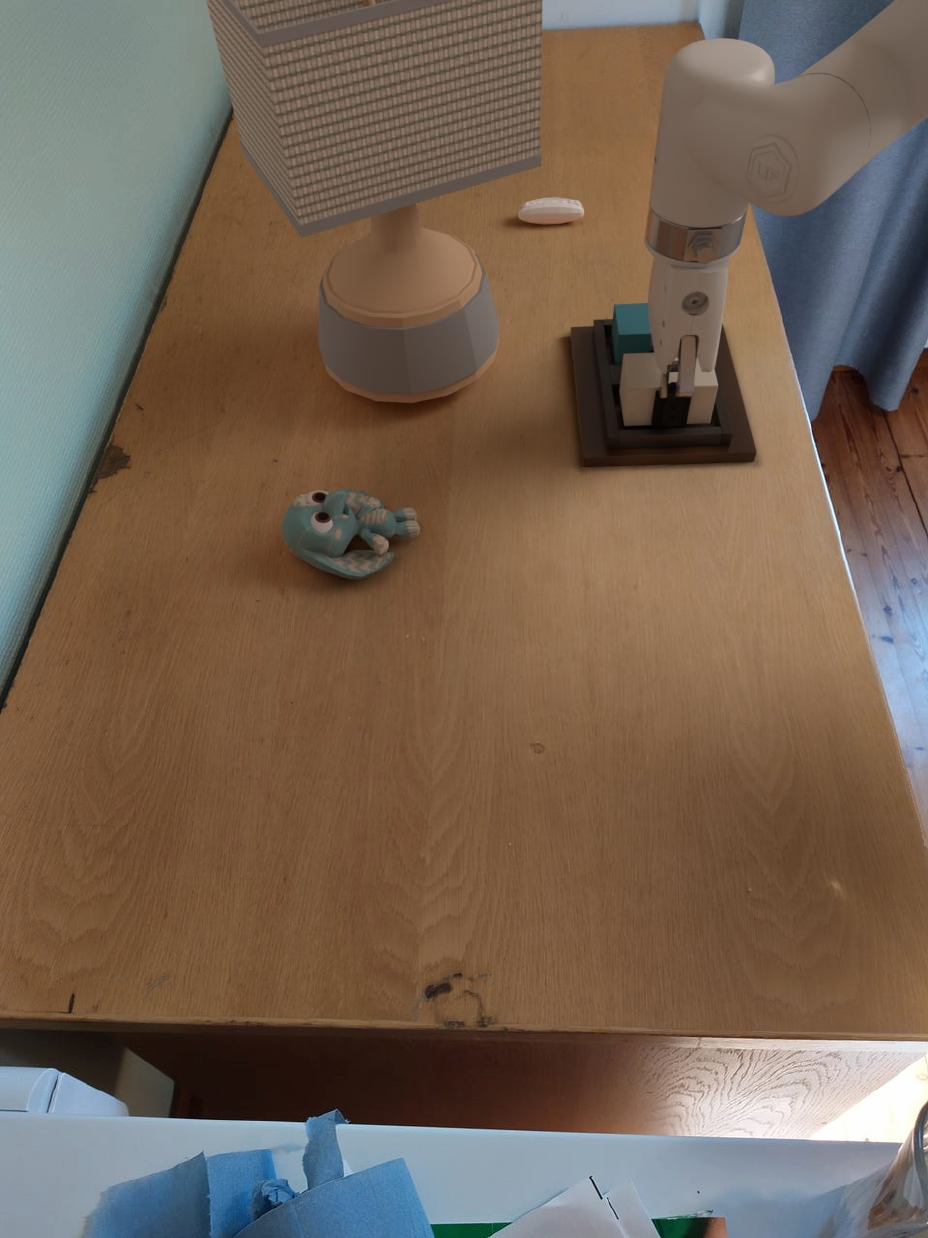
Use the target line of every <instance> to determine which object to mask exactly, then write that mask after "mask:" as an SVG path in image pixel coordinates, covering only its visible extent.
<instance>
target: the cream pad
mask: <svg viewBox="0 0 928 1238" xmlns="http://www.w3.org/2000/svg"><path fill="white" fill-rule="evenodd" d="M674 361H678V357H676V359H675V360H674ZM677 377H678V372H670V374H669V383H671V382H677ZM660 380H661V371H660V370H659V369H658V366H657V363H656V358H655V353H631V354H624V355H623V363H622V372H621V381H620V390H619V393H620V400H621V407H622V414H623V421H624V426H642V425H652V424H651V419H652V412H653V406H654V399H655V393H656V391H660ZM717 389H718V382H717V378H716V374H715V370H714V369H713V370H712V371H711V372H702V371H701V368H700V365H699V361H698V358H697V360H696V369H695V380H694V395H693V396H692V398H691V403H690V408H689V414H688V419H687V424H705V423H710V420H711V416H712V411H713V407H714V402H715V398H716V393H717Z"/></svg>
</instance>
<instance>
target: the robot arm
mask: <svg viewBox="0 0 928 1238" xmlns="http://www.w3.org/2000/svg"><path fill="white" fill-rule="evenodd" d="M775 81H776V70H775V64H774V62H773V59H772V58H771V56H770V55H769V53H767V51H765V50H764V49H763V48H762V47H760V46H758V45H757V44H754V43H753V42H749V41H746V40H743V39H736V38H728V37H727V38H726V37H725V38H724V37H715V38H706V39H701V40H698V41H697V40H696V41H694V42H691V43H689V44H687V45H685V46H683V47H682V48H681V49H679V50H678V51H677V52H676V53H675V54H674V55H673V56H672V57H671V59H670V61H669V63H668V65H667V67H666V69H665V73H664V78H663V83H662V92H661V99H660V108H659V116H658V124H657V131H656V132H657V133H656V139H655V140H656V142H655V149H654V158H653V165H652V173H651V174H652V175H651V184H650V192H649V198H648V199H649V200H648V206H647V207H648V208H647V217H646V224H645V230H644V231H645V232H644V246H645V248H646V250H647V251H648V253H649V254H650V255H652V256H653V258H652V263H651V271H650V278H649V285H648V297H647V303H648V319H649V325H650V331H651V349H654V350H649V352H648V353H655V358H656V363H657V366H658V369H659V370H660V371H661V380H660V391H656V393H655V399H654V406H653V412H652V419H651V424H652V427H653V428H676V427H684V426H686V424H687V419H688V414H689V408H690V403H691V398H692V396H693V395H694V380H695V369H696V360H697V358H698V361H699V365H700V368H701V371H702V372H711V371H712V370H713V369H714V367H715V364H716V358H717V352H718V346H719V340H720V334H721V328H722V323H723V321H724V313H725V308H726V300H727V291H728V280H729V279H728V278H729V261H730V260H731V259H733V257H735V256H736V255H737V253H738V252H739V250H740V247H741V242H742V237H743V232H744V229H745V223H746V219H747V215H748V210H749V206H750V205H749V204H752V205H753V206H754V207H756V208H758V209H759V210H760V209H761V210H762V211H764V212H766V213H769V214H772V215H774V216H782V217H793V216H801V215H803V214H805V213H808V212H811V211H812V210H814V209H815V208H818V206H821V204H823V203H824V202H826V200H828V199H829V198H830V197H831V196H832V195H833V194H834V193H836V192H837V191H838V190H839V189H841V188H842V187H843V186H844V185H845V184H846V183H847V182H848V181H849V180H851V179H852V178H853V177H854V175H856V174H857V173H858V172H859V171H861V170H862V169H863V167H865V166H866V165H867V164H868V163H870V162H871V161H872V160H874V158H876V157H877V156H878V155H879V154H881V153H882V152H883V151H884V150H886V149H887V148H888V147H889V146H890V145H892V144H893V143H894V142H895V141H897V140H898V139H900V138H901V137H902V136H903V135H905V134H906V133H907V132H909V131H911V130H912V129H913V128H915V127H916V126H918V125H919V124H921V122H923V121H924V120H926V119H927V118H928V0H893V1H892V2H891V3H890V4H888V5H887V6H886V7H885V8H883V10H882V11H880V12H879V13H878V14H877V15H876V16H874V17H873V18H871V20H870V21H869V22H867V23H866V24H865V25H864V26H863V27H861V28H859V30H857V31H856V32H855V33H854V34H852V35H851V36H850V37H849V38H847V39H846V40H845V41H844V42H842V43H841V44H840V45H838V46H837V47H836V48H835V49H834V50H832V51H831V52H829V53H828V54H826V55H825V56H824V57H823V58H820V60H818V61H816V62H815V63H813V64H812V65H811V66H810V67H808V68H807V69H806V70H804V71H803V72H801V73H800V74H799V75H797V76H796V77H795V78H792V79H789V80H786V81H782V82H779V83H775ZM676 357H678V361H674V360H675V359H676ZM670 372H678V377H677V382H671V383H669V374H670Z"/></svg>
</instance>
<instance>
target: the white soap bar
mask: <svg viewBox="0 0 928 1238" xmlns="http://www.w3.org/2000/svg"><path fill="white" fill-rule="evenodd" d="M584 216H585V210H584V205H583V204H582V203H581V201H580V200H578V199H571V198H565V197H559V196H557V197H542V198H537V199H533V200H529V201H526V202H524V203H522V204H521V205H520V206H519V208H518V213H517V217H518V219H519V220H520V221H523V222H526V223H530V224H536V225H544V226H545V225H561V224H565V223H566V224H567V223H571V222H573V221H576V220H579V219H581V218H583V217H584Z"/></svg>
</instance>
